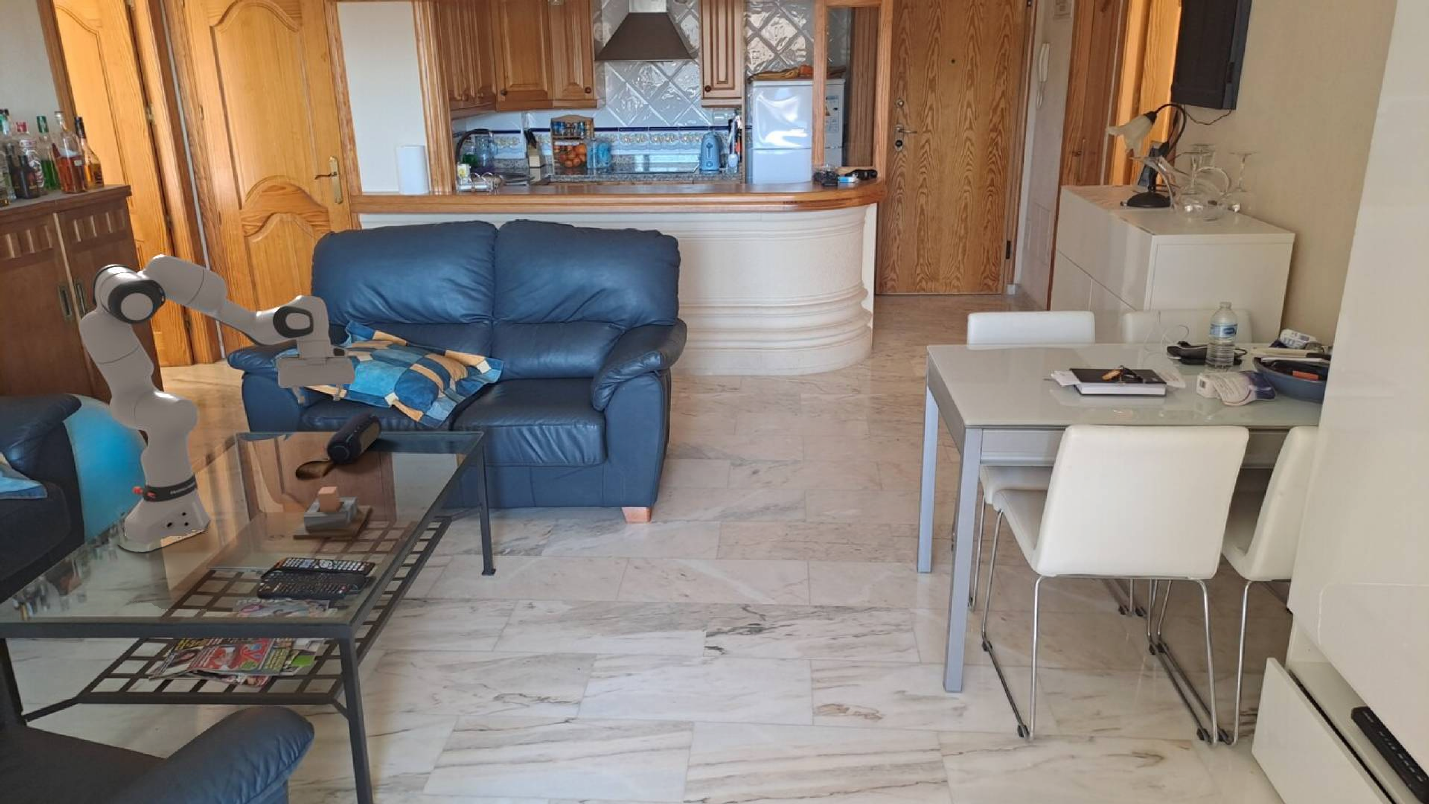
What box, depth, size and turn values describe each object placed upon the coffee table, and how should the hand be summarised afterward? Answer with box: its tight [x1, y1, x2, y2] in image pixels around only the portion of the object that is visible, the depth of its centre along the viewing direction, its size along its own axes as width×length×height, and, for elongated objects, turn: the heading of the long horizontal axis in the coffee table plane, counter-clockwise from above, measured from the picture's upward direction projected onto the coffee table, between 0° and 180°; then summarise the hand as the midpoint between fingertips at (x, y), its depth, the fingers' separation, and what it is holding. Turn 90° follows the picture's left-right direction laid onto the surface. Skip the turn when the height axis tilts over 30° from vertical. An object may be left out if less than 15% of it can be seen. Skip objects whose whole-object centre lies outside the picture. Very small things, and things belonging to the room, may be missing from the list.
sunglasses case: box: [294, 445, 337, 479], centre depth 301 cm, size 18×7×7 cm
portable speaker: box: [326, 411, 382, 465], centre depth 310 cm, size 25×10×10 cm, turn 177°
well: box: [292, 496, 372, 539], centre depth 265 cm, size 16×16×5 cm
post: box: [317, 486, 341, 512], centre depth 264 cm, size 4×4×9 cm
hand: (319, 401), depth 275 cm, fingers open, 8 cm apart
